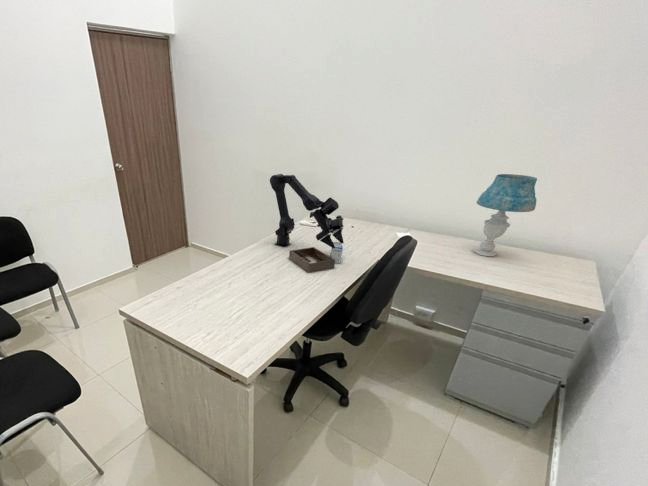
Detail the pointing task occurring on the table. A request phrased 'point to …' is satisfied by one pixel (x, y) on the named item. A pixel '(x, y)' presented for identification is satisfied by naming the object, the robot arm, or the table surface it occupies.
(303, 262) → the crate
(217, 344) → the table surface
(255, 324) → the table surface
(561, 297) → the table surface
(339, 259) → the medicine box
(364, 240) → the table surface
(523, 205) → the table lamp
